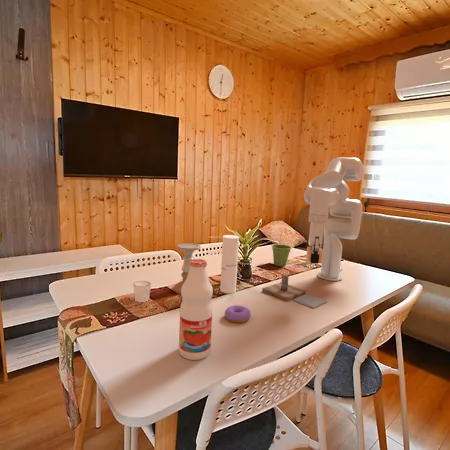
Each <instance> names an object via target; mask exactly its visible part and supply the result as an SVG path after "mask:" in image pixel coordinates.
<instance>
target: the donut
mask: <svg viewBox="0 0 450 450" xmlns="http://www.w3.org/2000/svg"><path fill="white" fill-rule="evenodd" d="M224 316H225V319H227V320H228V321H229V322H231V323H234V324H235V323H237V324H238V323H239V324H240V323H245V322H247V321H248V320H250V318H251V316H252V313H251V310H250V308H248V307H247V306H243V305H237V304H236V305H230V306H228V307H227V308H226V309H225V311H224Z"/></svg>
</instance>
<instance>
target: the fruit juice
mask: <svg viewBox="0 0 450 450" xmlns="http://www.w3.org/2000/svg"><path fill="white" fill-rule="evenodd" d="M207 265H208V263H207V260H206V259H203V258H202V259H201V258H194V259H192V260H190V262H189V266H190V271H189V273H188V276H187V279H186V281H185V282H184V284H183V285H182V288H181V293H180V294H181V299H182V301H181V303H180V307H179V331H178V332H179V335H178V336H179V337H178V338H179V339H178V351H179V354H180V356H181V357H183V358H184V359H186V360H189V361H190V360H192V361H199V360H203V359H205V358H207V357H209V354H210V352H211V347H212V329H213V327H212V326H213V325H212V324H213V303H212V297H213V293H214V291H213V290H214V288H213V285H212V284H211V282H210V279H209V276H208V272H207V269H206V268H207Z"/></svg>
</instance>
